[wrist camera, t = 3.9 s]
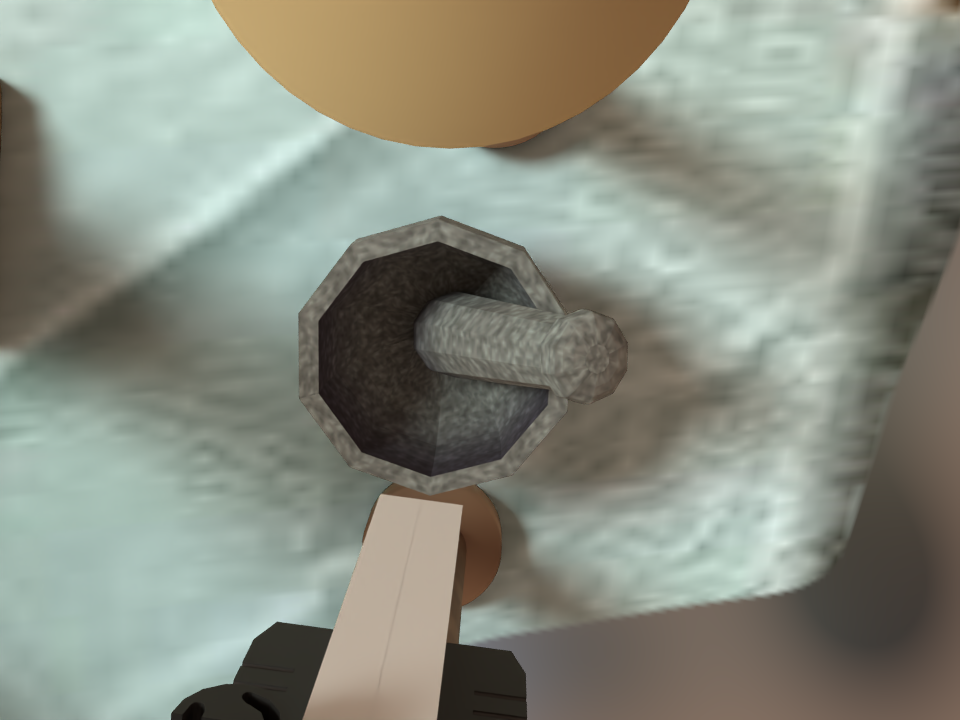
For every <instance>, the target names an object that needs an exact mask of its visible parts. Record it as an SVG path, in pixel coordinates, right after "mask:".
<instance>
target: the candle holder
mask: <svg viewBox="0 0 960 720" xmlns="http://www.w3.org/2000/svg"><path fill="white" fill-rule="evenodd" d="M1 129H2V96H1V85H0V150H1Z"/></svg>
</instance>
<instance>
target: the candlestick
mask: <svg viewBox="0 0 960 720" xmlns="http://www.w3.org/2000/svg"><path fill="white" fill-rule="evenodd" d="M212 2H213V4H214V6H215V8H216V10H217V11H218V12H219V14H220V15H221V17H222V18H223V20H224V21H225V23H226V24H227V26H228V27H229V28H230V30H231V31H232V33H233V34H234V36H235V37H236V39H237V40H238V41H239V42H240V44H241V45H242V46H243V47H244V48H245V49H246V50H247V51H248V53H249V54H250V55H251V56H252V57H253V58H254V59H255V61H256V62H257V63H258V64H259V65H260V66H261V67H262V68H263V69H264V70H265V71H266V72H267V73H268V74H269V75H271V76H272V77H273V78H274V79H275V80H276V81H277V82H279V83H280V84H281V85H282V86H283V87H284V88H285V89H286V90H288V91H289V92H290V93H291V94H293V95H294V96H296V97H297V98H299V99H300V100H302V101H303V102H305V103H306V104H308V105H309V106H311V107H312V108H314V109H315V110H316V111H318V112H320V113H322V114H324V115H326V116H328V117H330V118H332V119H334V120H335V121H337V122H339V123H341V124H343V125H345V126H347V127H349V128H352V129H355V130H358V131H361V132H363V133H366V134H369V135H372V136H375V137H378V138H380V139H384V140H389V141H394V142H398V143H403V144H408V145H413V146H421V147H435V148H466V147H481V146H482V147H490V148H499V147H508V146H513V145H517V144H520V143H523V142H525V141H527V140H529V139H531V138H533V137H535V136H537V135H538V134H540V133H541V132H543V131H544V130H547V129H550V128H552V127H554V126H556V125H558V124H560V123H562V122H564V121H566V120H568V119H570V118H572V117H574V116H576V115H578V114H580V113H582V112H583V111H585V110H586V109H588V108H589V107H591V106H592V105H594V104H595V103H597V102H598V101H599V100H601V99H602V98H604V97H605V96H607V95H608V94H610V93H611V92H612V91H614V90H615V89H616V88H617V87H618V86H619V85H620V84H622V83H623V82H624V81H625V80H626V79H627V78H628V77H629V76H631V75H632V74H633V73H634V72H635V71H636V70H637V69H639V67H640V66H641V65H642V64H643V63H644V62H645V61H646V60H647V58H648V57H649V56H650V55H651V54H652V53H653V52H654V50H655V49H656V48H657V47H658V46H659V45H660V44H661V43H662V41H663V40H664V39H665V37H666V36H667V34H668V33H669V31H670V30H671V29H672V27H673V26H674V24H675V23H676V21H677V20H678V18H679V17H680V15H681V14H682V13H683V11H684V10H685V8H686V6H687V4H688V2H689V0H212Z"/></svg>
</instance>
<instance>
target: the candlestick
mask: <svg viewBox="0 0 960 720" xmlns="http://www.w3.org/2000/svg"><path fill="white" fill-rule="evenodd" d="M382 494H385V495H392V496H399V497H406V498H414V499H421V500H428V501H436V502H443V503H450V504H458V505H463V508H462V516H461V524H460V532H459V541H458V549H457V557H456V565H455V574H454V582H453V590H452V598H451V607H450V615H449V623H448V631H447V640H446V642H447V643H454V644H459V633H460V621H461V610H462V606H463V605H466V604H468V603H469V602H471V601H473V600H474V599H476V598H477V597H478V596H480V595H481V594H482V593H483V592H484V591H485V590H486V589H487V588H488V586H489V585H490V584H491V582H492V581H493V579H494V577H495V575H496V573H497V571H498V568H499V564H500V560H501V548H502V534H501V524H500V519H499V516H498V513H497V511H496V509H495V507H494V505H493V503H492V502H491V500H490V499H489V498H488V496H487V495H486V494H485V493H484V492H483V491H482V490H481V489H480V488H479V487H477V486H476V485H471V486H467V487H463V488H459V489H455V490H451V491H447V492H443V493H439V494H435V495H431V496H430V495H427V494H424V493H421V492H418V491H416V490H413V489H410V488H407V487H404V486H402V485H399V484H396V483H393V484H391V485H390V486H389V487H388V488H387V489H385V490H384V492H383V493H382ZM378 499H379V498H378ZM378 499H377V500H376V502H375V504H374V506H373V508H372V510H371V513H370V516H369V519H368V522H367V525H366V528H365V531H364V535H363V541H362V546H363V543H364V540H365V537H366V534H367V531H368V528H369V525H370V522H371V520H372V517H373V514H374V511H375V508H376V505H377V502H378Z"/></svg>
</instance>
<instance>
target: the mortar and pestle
mask: <svg viewBox="0 0 960 720" xmlns="http://www.w3.org/2000/svg"><path fill="white" fill-rule="evenodd" d="M627 349H628V343H627V341H626V339H625V337H624V336H623V334H622V332H621V331H620V329H619V327H618V325H617V324H616V322H615V320H614V319H613V318H610V317H607V316H605V315H602V314H599V313H597V312H594V311H591V310H585V309H580V310H577V311H575V312H572V313H570V314H567V312H566V311H565V309H564V308H563V306H562V305H561V303H560V302H559V300H558V299H557V297H556V296H555V294H554V293H553V291H552V289H551V288H550V286H549V285H548V283H547V282H546V280H545V279H544V277H543V276H542V274H541V273H540V271H539V269H538V268H537V266H536V265H535V263H534V262H533V260H532V259H531V257H530V256H529V254H528V253H527V251H526V249H525V248H524V247H523V246H521V245H518V244H515V243H513V242H510V241H507V240H505V239H502V238H499V237H497V236H494V235H491V234H489V233H486V232H483V231H481V230H478V229H475V228H473V227H470V226H468V225H465V224H462V223H460V222H457V221H454V220H452V219H449V218H446V217H444V216H438V217H434V218H431V219H427V220H424V221H420V222H417V223H413V224H409V225H406V226H402V227H399V228H395V229H391V230H388V231H384V232H381V233H377V234H374V235H370V236H366V237H363V238H359V239H357V240H356V241H354V242H353V243H352V244H351V245H350V246H349V247H348V249H347V250H346V251H345V253H344V254H343V255H342V257H341V258H340V259H339V261H338V262H337V263H336V265H335V266H334V267H333V269H332V270H331V271H330V273H329V274H328V275H327V277H326V278H325V279H324V281H323V282H322V283H321V284H320V286H319V287H318V288H317V290H316V291H315V292H314V294H313V295H312V296H311V298H310V299H309V300H308V302H307V303H306V304H305V306H304V307H303V308H302V310H301V311H300V312H299V399H300V400H301V402H302V403H303V404H304V406H305V407H306V408H307V410H308V411H309V412H310V414H311V415H312V417H313V418H314V419H315V421H316V422H317V423H318V425H319V426H320V427H321V429H322V430H323V431H324V433H325V434H326V435H327V437H328V438H329V440H330V441H331V442H332V444H333V445H334V446H335V448H336V449H337V450H338V452H339V453H340V454H341V456H342V457H343V458H344V460H345V461H346V463H347V464H348V465H349V467H351V468H354V469H357V470H360V471H362V472H365V473H368V474H371V475H374V476H376V477H379V478H382V479H385V480H388V481H390V482H393V483H396V484H399V485H402V486H404V487H407V488H410V489H413V490H416V491H418V492H421V493H424V494H427V495H430V496H431V495H435V494H439V493H443V492H447V491H451V490H455V489H459V488H463V487H467V486H471V485H475V484H479V483H483V482H487V481H491V480H495V479H499V478H503V477H507V476H511V475H513V474H514V472H515V471H516V470H517V469H518V468H519V467H520V466H521V464H522V463H523V462H524V461H525V460H526V459H527V457H528V456H529V455H530V454H531V453H532V452H533V451H534V449H535V448H536V447H537V446H538V445H539V444H540V442H541V441H542V440H543V439H544V438H545V437H546V436H547V434H548V433H549V432H550V431H551V430H552V429H553V428H554V426H555V425H556V424H557V423H558V422H559V421H560V419H561V418H562V417H563V416H564V415H565V414H566V413H567V405H568V400H572V401H575V402H578V403H582V404H587V405H589V404H591V403H593V402H595V401H597V400H600V399H602V398H604V397H606V396H608V395H611V394H612V393H613V392H614V391H615V389H616V387H617V386H618V384H619V382H620V381H621V379H622V378H623V376H624V374H625V373H626V371H627Z"/></svg>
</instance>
